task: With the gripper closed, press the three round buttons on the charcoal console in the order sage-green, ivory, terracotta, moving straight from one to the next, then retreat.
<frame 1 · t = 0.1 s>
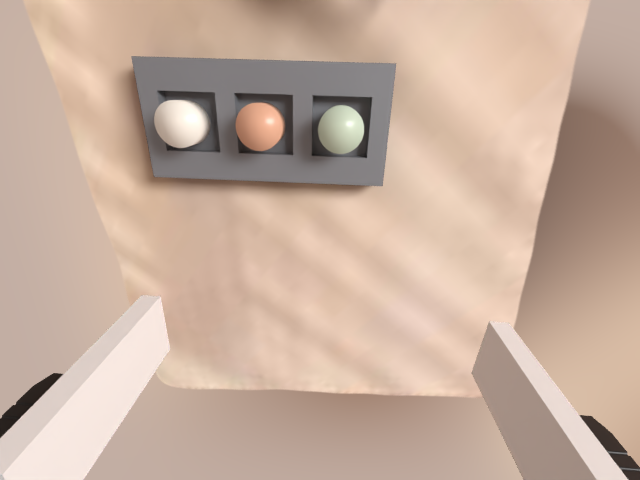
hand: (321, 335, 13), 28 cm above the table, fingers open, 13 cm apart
button ivory: (183, 123, 32), point 5 cm above the table, slide at 0.0 cm
button sage: (340, 129, 32), point 5 cm above the table, slide at 0.0 cm
button terracotta: (261, 126, 32), point 5 cm above the table, slide at 0.0 cm
console: (270, 123, 36), on the table
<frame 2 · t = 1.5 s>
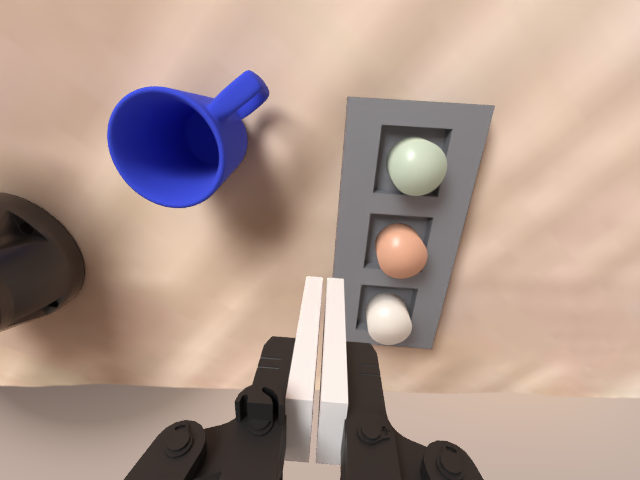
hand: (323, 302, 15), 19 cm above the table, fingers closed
button ivory: (387, 318, 33), point 5 cm above the table, slide at 0.0 cm
button sage: (414, 165, 27), point 4 cm above the table, slide at 0.0 cm
mug: (231, 124, 31), on the table
button terracotta: (399, 250, 30), point 5 cm above the table, slide at 0.0 cm
console: (392, 232, 34), on the table
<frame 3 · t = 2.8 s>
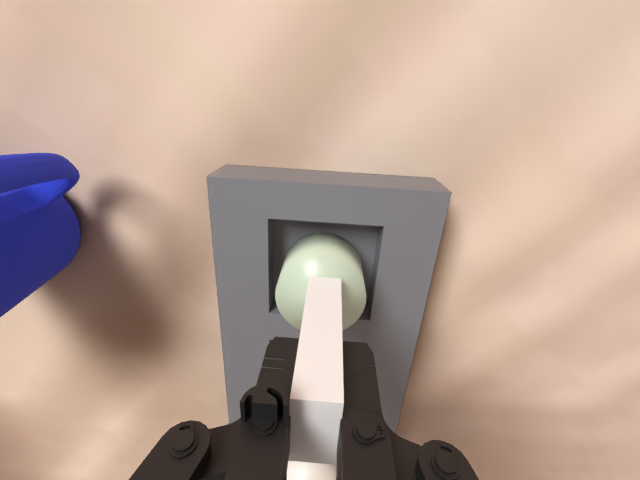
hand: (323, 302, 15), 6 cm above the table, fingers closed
button ivory: (308, 476, 23), point 4 cm above the table, slide at 0.0 cm
button sage: (321, 282, 17), point 4 cm above the table, slide at 0.6 cm
mug: (56, 200, 20), on the table
console: (317, 346, 24), on the table
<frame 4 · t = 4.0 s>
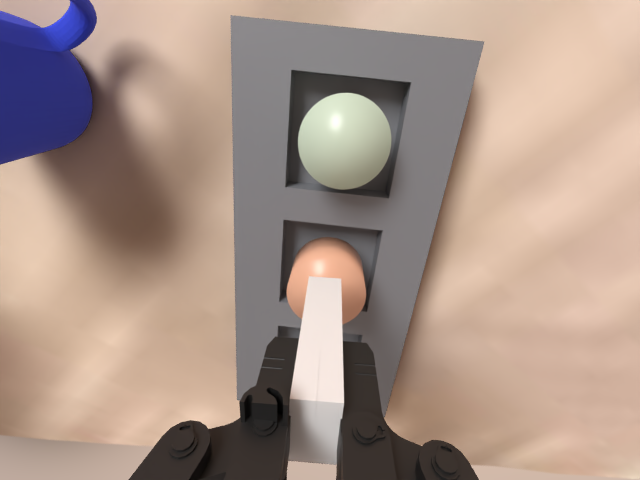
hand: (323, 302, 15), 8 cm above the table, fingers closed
button sage: (343, 140, 16), point 4 cm above the table, slide at 0.8 cm
mug: (68, 68, 19), on the table
button terracotta: (327, 280, 19), point 4 cm above the table, slide at 0.0 cm
console: (329, 248, 23), on the table
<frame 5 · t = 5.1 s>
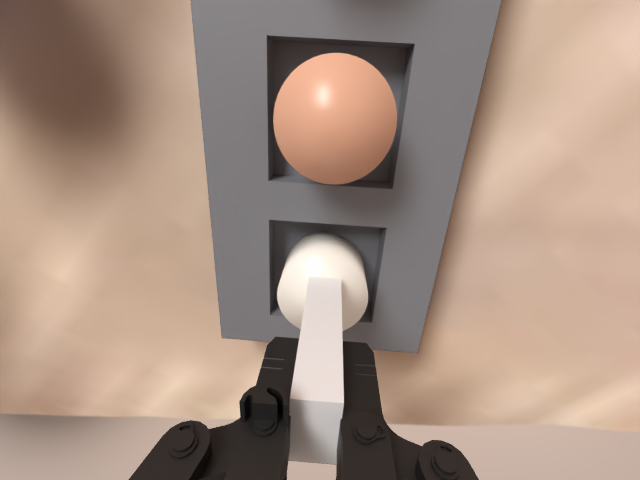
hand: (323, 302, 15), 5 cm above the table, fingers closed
button ivory: (323, 282, 17), point 4 cm above the table, slide at 0.8 cm, touching gripper
button terracotta: (334, 121, 13), point 4 cm above the table, slide at 0.0 cm
console: (335, 115, 17), on the table
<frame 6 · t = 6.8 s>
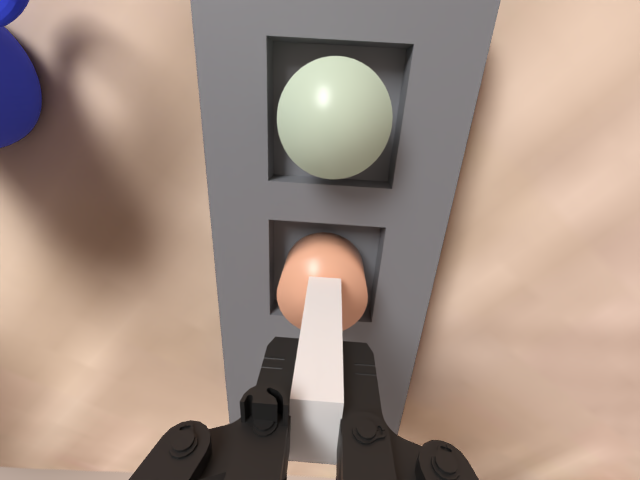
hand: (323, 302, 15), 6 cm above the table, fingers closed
button sage: (334, 119, 13), point 4 cm above the table, slide at 0.8 cm
mug: (11, 53, 17), on the table
button terracotta: (323, 281, 17), point 4 cm above the table, slide at 0.7 cm, touching gripper
console: (325, 250, 20), on the table
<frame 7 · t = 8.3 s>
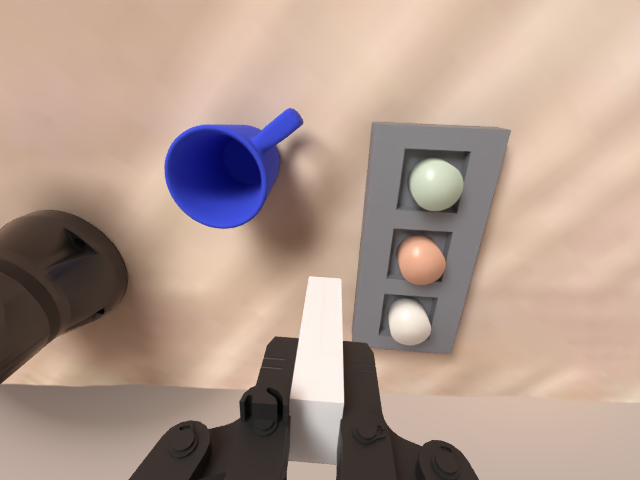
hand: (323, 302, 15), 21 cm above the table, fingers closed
button ivory: (408, 321, 36), point 4 cm above the table, slide at 0.8 cm
button sage: (433, 183, 30), point 4 cm above the table, slide at 0.8 cm
mug: (264, 147, 34), on the table
button terracotta: (419, 259, 33), point 4 cm above the table, slide at 0.8 cm
console: (412, 244, 36), on the table
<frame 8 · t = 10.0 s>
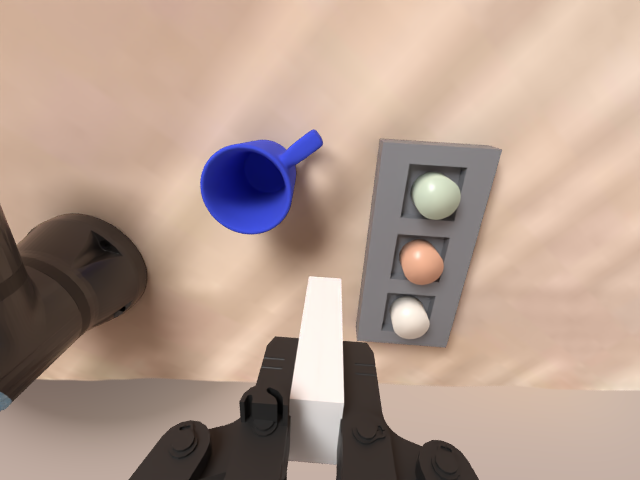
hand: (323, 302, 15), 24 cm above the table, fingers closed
button ivory: (408, 317, 40), point 4 cm above the table, slide at 0.8 cm
button sage: (434, 195, 34), point 4 cm above the table, slide at 0.8 cm
mug: (281, 159, 37), on the table
button terracotta: (420, 261, 37), point 4 cm above the table, slide at 0.8 cm
console: (413, 248, 40), on the table
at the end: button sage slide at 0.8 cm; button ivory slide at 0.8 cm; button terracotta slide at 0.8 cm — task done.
